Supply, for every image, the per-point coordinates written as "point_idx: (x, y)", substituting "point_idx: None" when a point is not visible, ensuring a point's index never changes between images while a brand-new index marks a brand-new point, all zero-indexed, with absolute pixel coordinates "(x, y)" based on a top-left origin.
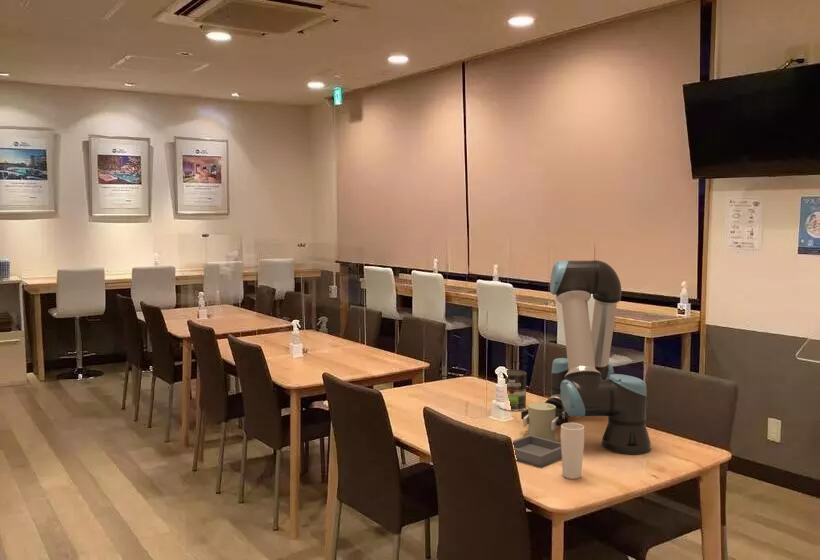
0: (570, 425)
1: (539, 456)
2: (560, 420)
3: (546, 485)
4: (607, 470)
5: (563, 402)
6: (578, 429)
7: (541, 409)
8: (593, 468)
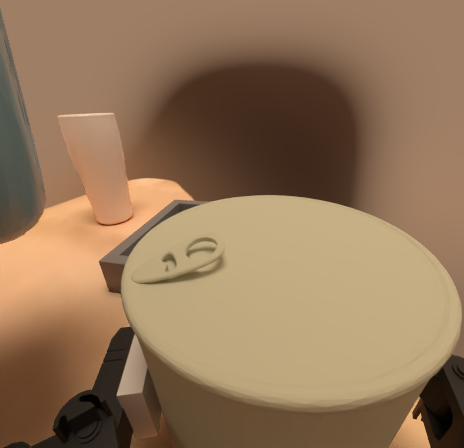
0: (89, 121)
1: (178, 200)
2: (103, 368)
3: (157, 195)
4: (17, 257)
5: (31, 149)
6: (77, 114)
7: (232, 203)
8: (54, 254)
